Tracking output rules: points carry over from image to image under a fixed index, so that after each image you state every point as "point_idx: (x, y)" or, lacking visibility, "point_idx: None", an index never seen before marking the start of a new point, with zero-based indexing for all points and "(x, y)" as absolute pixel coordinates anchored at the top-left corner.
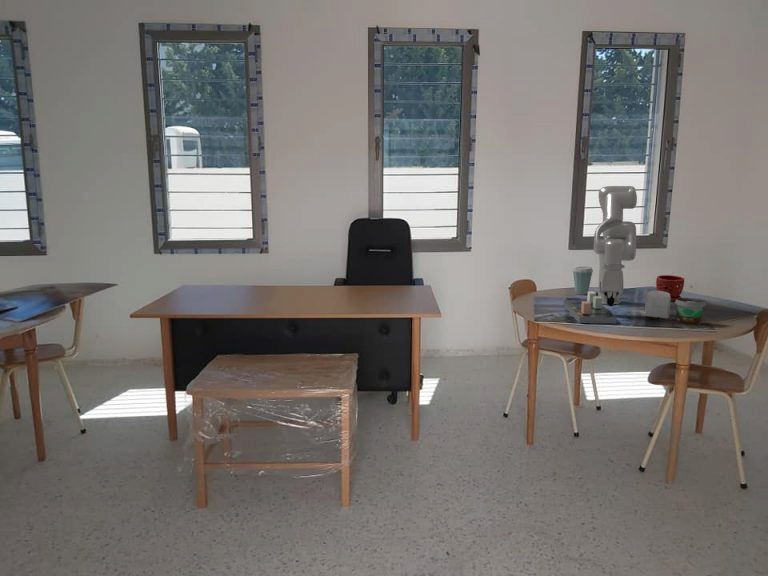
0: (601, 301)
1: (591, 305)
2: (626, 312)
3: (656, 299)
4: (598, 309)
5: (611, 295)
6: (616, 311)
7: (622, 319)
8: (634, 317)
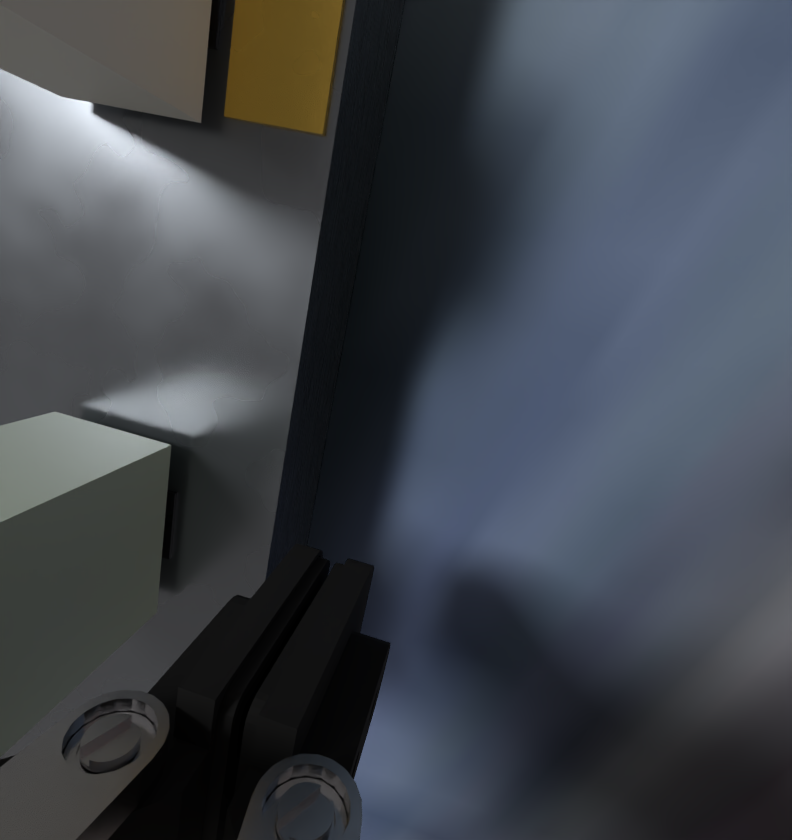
0: (14, 722)
1: (86, 250)
2: (769, 464)
3: None
4: None
5: (246, 824)
6: (623, 346)
7: (412, 788)
8: (654, 771)
